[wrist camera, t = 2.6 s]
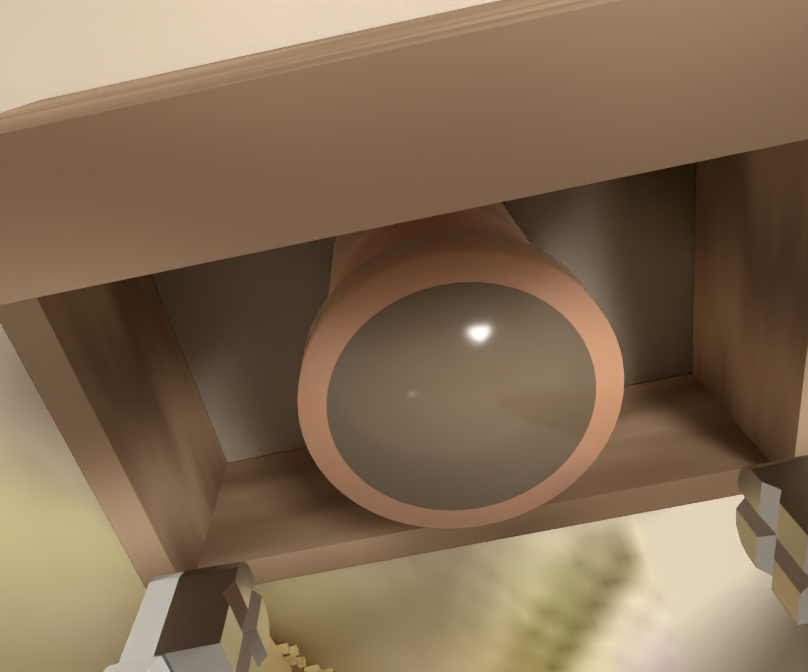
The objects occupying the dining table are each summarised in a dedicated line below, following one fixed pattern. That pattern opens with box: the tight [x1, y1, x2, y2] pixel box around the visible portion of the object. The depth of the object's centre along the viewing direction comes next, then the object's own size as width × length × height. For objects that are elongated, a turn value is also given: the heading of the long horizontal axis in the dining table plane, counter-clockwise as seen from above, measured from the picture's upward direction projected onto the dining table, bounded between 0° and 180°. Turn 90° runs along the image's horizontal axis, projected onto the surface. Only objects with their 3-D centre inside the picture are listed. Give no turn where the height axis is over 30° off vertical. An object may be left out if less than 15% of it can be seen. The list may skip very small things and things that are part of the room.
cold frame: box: [0, 0, 808, 589], centre depth 15 cm, size 14×19×13 cm
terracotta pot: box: [297, 202, 624, 529], centre depth 17 cm, size 7×7×8 cm
